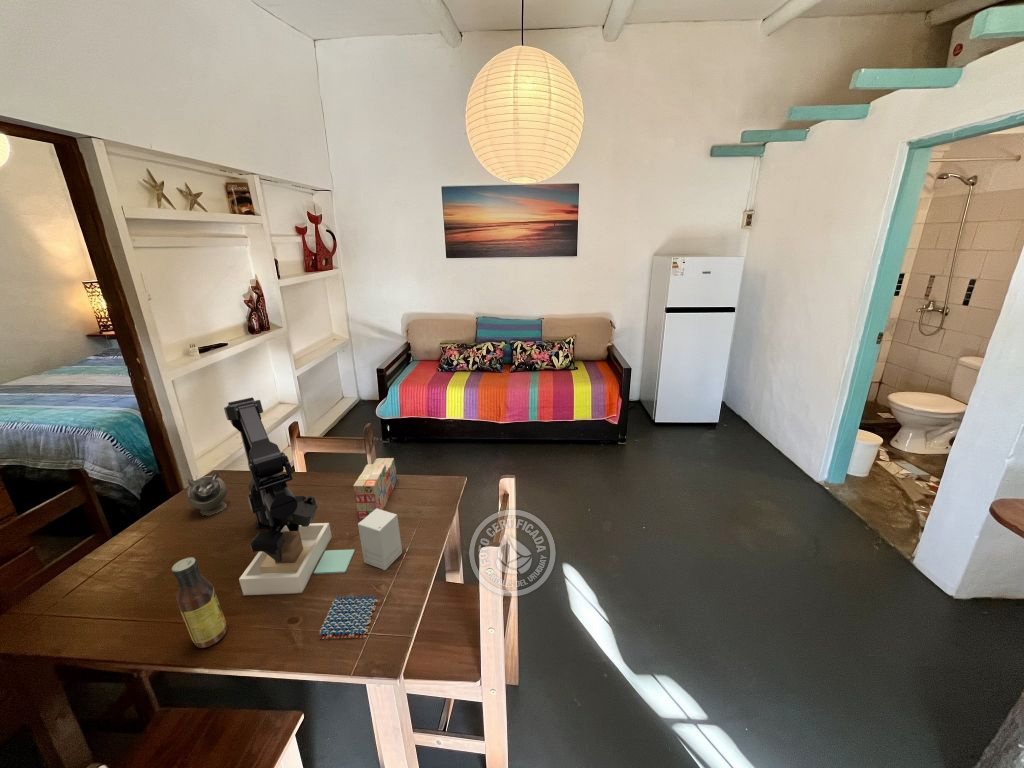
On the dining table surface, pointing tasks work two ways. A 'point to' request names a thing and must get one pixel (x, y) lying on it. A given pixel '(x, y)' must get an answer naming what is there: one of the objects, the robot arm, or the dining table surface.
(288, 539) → the walnut block
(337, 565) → the teal pad
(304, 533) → the crate
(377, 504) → the stack of blocks
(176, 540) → the dining table surface
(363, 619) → the woven mat
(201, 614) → the sauce bottle
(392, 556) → the supplement box
